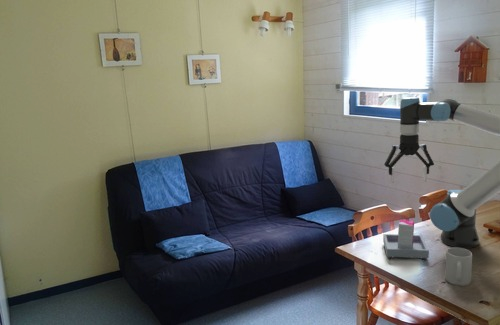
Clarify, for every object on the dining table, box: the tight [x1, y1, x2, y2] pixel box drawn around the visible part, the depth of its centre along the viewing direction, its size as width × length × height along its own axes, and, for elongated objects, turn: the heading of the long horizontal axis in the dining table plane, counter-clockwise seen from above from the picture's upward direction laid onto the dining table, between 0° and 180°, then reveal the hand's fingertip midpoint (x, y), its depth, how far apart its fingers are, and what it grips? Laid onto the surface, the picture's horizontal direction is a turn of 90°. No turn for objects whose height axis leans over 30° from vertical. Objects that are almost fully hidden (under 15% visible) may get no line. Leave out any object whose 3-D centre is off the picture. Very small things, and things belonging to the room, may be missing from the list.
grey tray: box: [382, 233, 430, 262], centre depth 178 cm, size 16×16×5 cm
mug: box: [444, 247, 473, 286], centre depth 151 cm, size 12×8×11 cm
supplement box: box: [397, 219, 415, 249], centre depth 176 cm, size 6×6×12 cm
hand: (408, 181), depth 184 cm, fingers open, 13 cm apart
